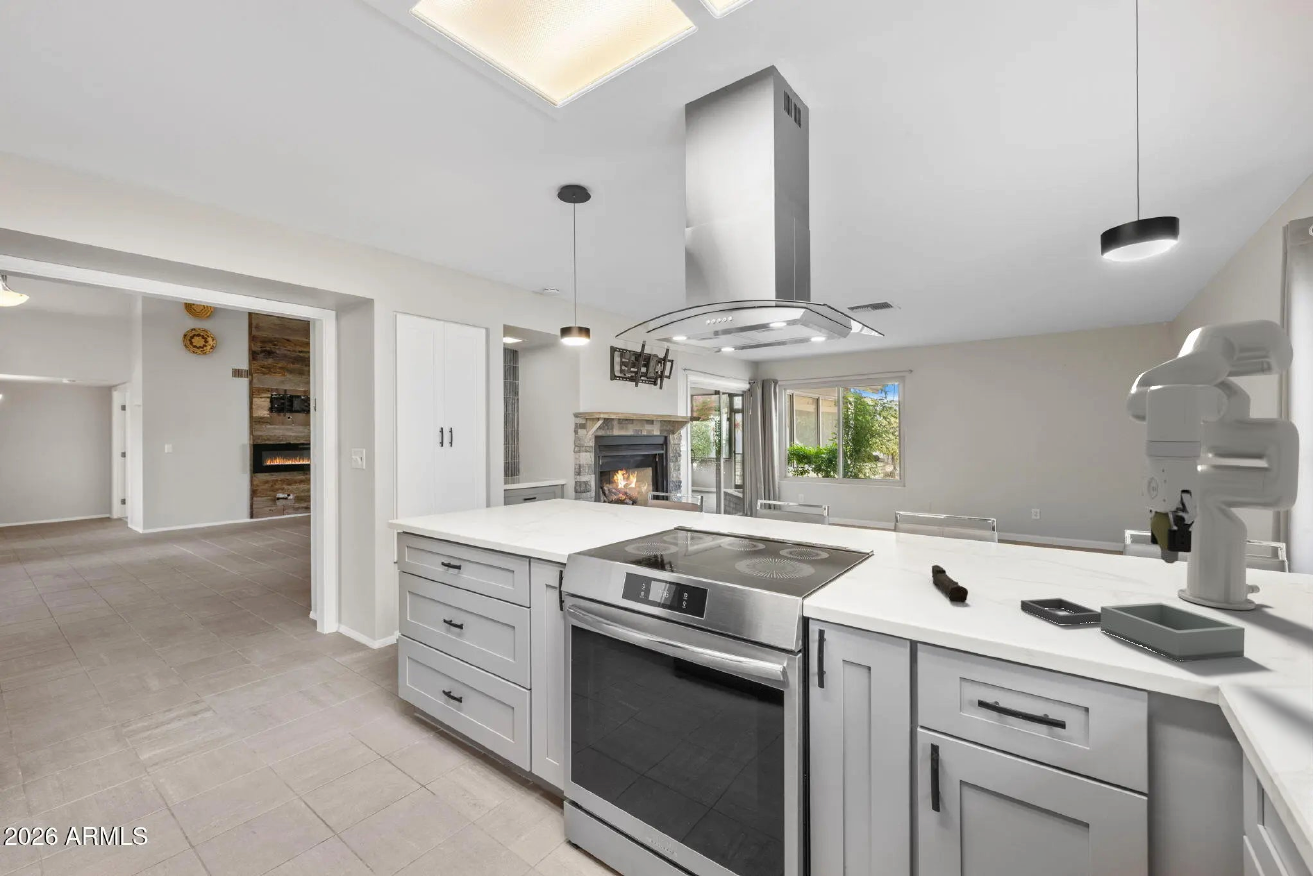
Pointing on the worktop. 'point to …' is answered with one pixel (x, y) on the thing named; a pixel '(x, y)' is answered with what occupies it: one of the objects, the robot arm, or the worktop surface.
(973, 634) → the worktop surface
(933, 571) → the hand tool
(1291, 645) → the worktop surface
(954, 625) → the worktop surface
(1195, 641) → the bin
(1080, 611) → the bulb holder
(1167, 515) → the light bulb
